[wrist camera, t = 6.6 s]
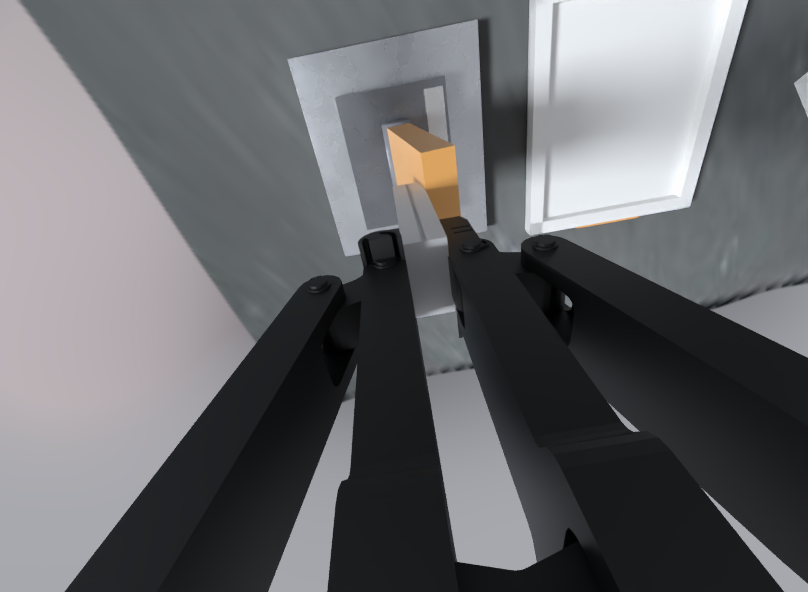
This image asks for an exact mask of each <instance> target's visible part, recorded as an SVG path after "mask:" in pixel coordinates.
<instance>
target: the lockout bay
mask: <svg viewBox="0 0 808 592" xmlns="http://www.w3.org/2000/svg"><path fill="white" fill-rule="evenodd" d="M747 3H748V0H529V50H528V103H527V157H526V211H525V230H526V231H527V233H528V234H529V235H535V234H541V233H547V232H552V231H558V230H563V229H569V228H575V227H576V228H582V227H588V226H593V225H599V224H605V223H610V222H616V221H621V220H627V219H633V218H638V217H639V216H642V215H647V214H653V213H658V212H664V211H670V210H675V209H681V208H686V207H690V205H691V201H692V198H693V194H694V191H695V187H696V183H697V180H698V176H699V173H700V169H701V166H702V162H703V159H704V155H705V152H706V148H707V144H708V141H709V137H710V134H711V130H712V127H713V123H714V120H715V116H716V113H717V109H718V106H719V102H720V98H721V95H722V91H723V88H724V84H725V81H726V77H727V74H728V70H729V67H730V63H731V59H732V56H733V52H734V49H735V45H736V42H737V38H738V35H739V31H740V28H741V24H742V21H743V17H744V13H745V10H746V6H747Z"/></svg>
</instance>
